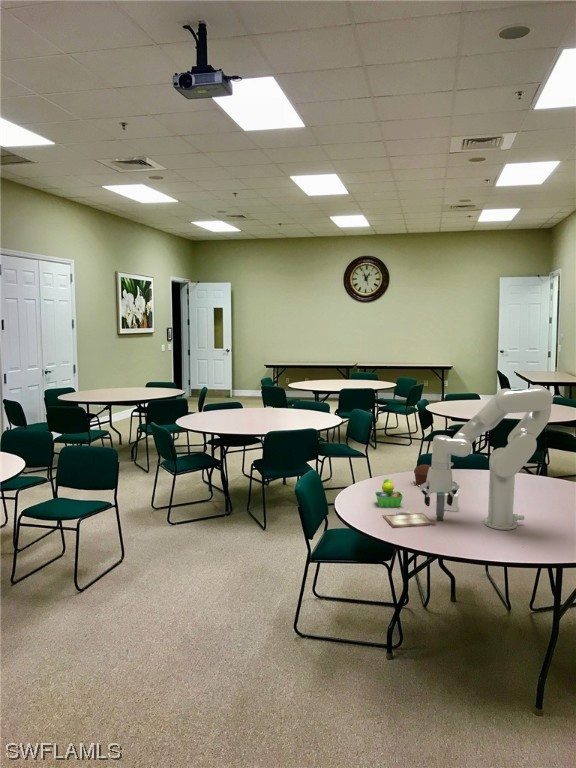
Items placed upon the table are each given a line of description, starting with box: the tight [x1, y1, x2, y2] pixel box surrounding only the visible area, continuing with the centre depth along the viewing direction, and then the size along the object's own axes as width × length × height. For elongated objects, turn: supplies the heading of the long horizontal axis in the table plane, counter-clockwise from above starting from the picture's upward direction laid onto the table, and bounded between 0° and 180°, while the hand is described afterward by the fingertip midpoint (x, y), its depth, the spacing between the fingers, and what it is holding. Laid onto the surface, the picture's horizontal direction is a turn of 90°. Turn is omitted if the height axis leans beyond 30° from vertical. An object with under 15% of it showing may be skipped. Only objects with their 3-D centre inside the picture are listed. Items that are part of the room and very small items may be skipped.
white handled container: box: [444, 481, 459, 512], centre depth 250 cm, size 7×7×12 cm
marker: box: [435, 493, 445, 522], centre depth 236 cm, size 3×3×12 cm
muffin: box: [413, 464, 431, 486], centre depth 285 cm, size 12×11×10 cm
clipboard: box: [382, 511, 436, 529], centre depth 235 cm, size 18×13×2 cm
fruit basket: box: [375, 478, 404, 508], centre depth 255 cm, size 11×9×11 cm
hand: (438, 505), depth 236 cm, fingers open, 9 cm apart
